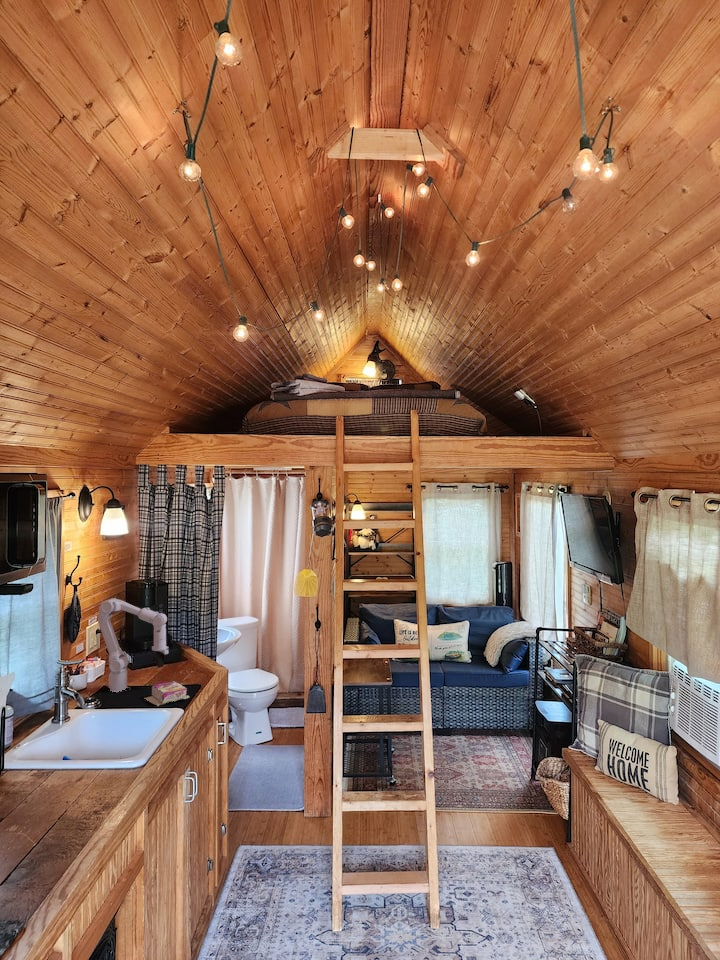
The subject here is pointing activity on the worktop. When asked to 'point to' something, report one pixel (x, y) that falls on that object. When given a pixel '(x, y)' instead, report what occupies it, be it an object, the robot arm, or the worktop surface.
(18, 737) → the worktop surface
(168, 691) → the candy bar box
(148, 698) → the mat
